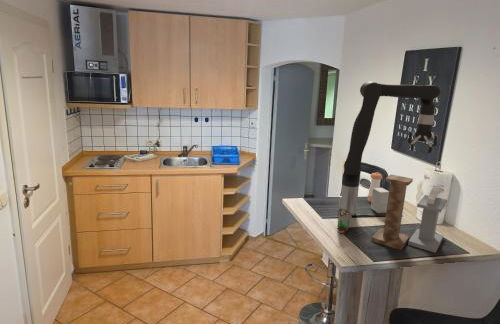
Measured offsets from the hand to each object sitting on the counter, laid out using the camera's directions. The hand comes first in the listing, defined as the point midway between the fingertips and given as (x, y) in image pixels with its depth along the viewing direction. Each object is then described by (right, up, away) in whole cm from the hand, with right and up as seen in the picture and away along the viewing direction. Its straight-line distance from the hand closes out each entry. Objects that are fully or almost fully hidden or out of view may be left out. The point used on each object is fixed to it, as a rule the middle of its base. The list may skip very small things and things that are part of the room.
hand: (420, 152), depth 191 cm
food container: (-45, -41, -11) cm, 62 cm away
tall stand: (-25, -44, -20) cm, 55 cm away
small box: (-17, -35, +17) cm, 42 cm away
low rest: (-8, -45, -21) cm, 50 cm away
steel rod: (-4, -23, -21) cm, 31 cm away
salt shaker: (-15, -31, +32) cm, 47 cm away
